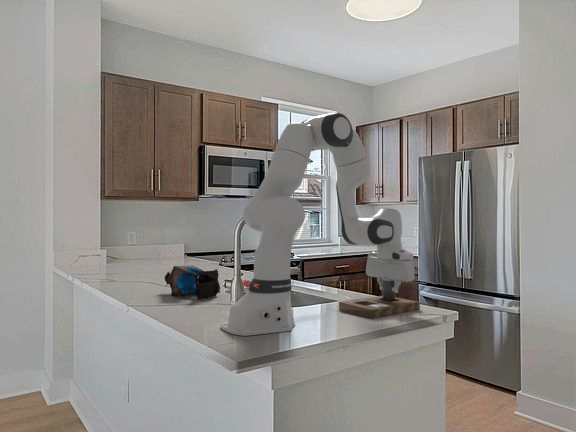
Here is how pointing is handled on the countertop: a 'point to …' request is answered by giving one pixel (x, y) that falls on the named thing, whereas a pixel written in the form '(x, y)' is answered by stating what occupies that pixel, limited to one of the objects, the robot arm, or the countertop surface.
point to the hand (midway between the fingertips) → (388, 291)
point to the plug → (388, 290)
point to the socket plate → (378, 307)
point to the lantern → (193, 282)
